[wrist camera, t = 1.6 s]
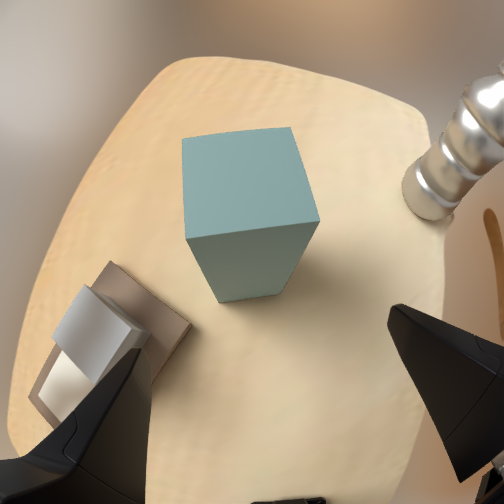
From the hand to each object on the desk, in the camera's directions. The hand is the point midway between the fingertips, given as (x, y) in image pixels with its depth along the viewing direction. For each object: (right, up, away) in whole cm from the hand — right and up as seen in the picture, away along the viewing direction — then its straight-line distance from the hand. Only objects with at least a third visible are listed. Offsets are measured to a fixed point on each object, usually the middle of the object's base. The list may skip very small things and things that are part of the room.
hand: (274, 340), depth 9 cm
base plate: (-14, -7, +10) cm, 19 cm away
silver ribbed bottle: (+18, +8, +17) cm, 26 cm away
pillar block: (-1, +2, +14) cm, 14 cm away
